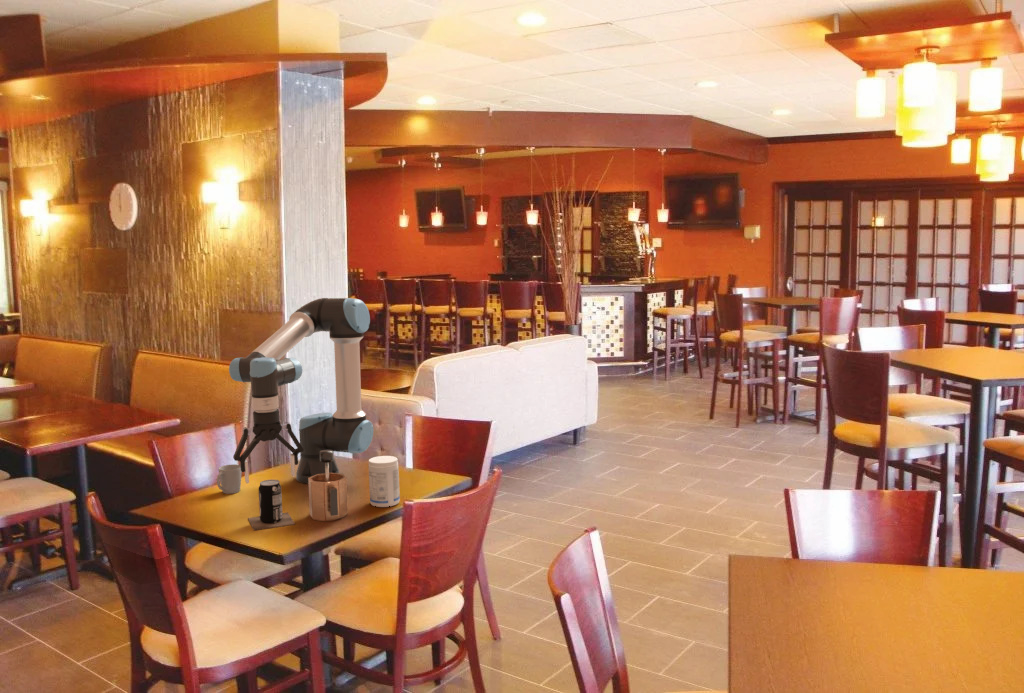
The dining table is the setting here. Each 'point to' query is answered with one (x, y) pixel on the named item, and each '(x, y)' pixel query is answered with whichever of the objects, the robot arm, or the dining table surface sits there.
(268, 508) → the beverage can
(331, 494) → the press carafe
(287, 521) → the gray-brown square tile
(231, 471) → the cup
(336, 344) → the robot arm
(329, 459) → the plunger
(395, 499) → the supplement tub
